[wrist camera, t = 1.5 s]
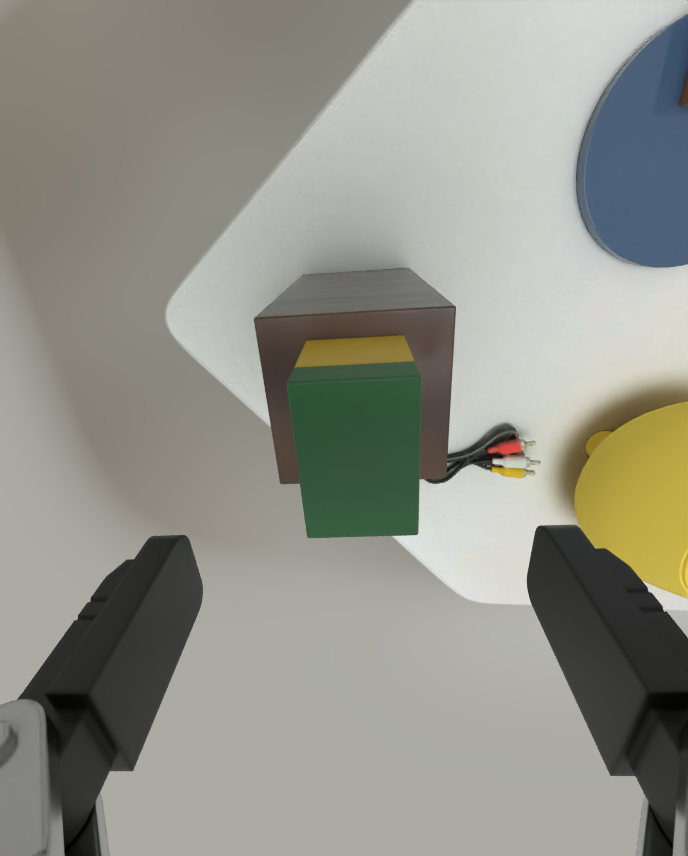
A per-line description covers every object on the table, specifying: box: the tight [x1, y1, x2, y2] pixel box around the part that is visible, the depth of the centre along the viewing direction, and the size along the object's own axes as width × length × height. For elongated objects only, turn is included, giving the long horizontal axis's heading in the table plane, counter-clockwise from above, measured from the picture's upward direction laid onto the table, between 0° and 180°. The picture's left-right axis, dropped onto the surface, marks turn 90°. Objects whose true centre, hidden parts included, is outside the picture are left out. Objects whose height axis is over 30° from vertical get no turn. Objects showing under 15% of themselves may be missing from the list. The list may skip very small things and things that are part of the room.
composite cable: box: [425, 426, 540, 484], centre depth 36 cm, size 10×5×2 cm, turn 102°
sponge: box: [287, 335, 422, 538], centre depth 15 cm, size 6×4×5 cm, turn 4°
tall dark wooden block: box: [254, 268, 456, 484], centre depth 25 cm, size 8×8×16 cm
